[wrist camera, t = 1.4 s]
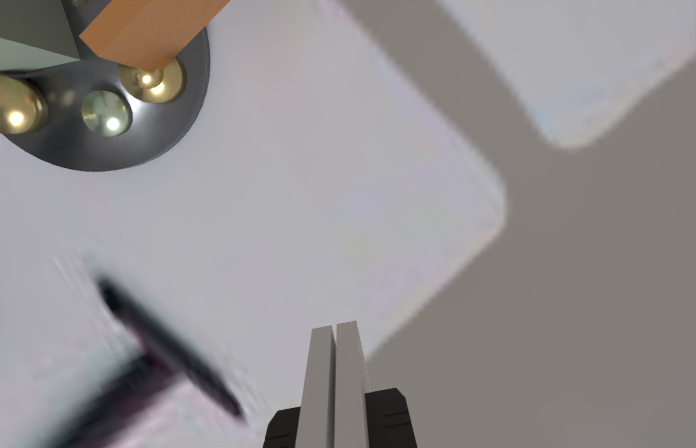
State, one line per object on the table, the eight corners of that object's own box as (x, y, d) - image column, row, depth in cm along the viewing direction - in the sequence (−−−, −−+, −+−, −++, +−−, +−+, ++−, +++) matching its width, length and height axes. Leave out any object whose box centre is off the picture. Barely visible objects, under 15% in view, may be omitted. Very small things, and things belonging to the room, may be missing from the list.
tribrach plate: (25, 188, 36) (-14, 195, 32) (-71, -55, 31) (-131, -82, 27) (236, 146, 35) (222, 147, 31) (170, -109, 30) (145, -144, 26)
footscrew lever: (161, 116, 32) (87, 109, 23) (120, 73, 31) (26, 48, 22) (292, -14, 30) (269, -80, 20) (251, -64, 29) (209, -155, 20)
